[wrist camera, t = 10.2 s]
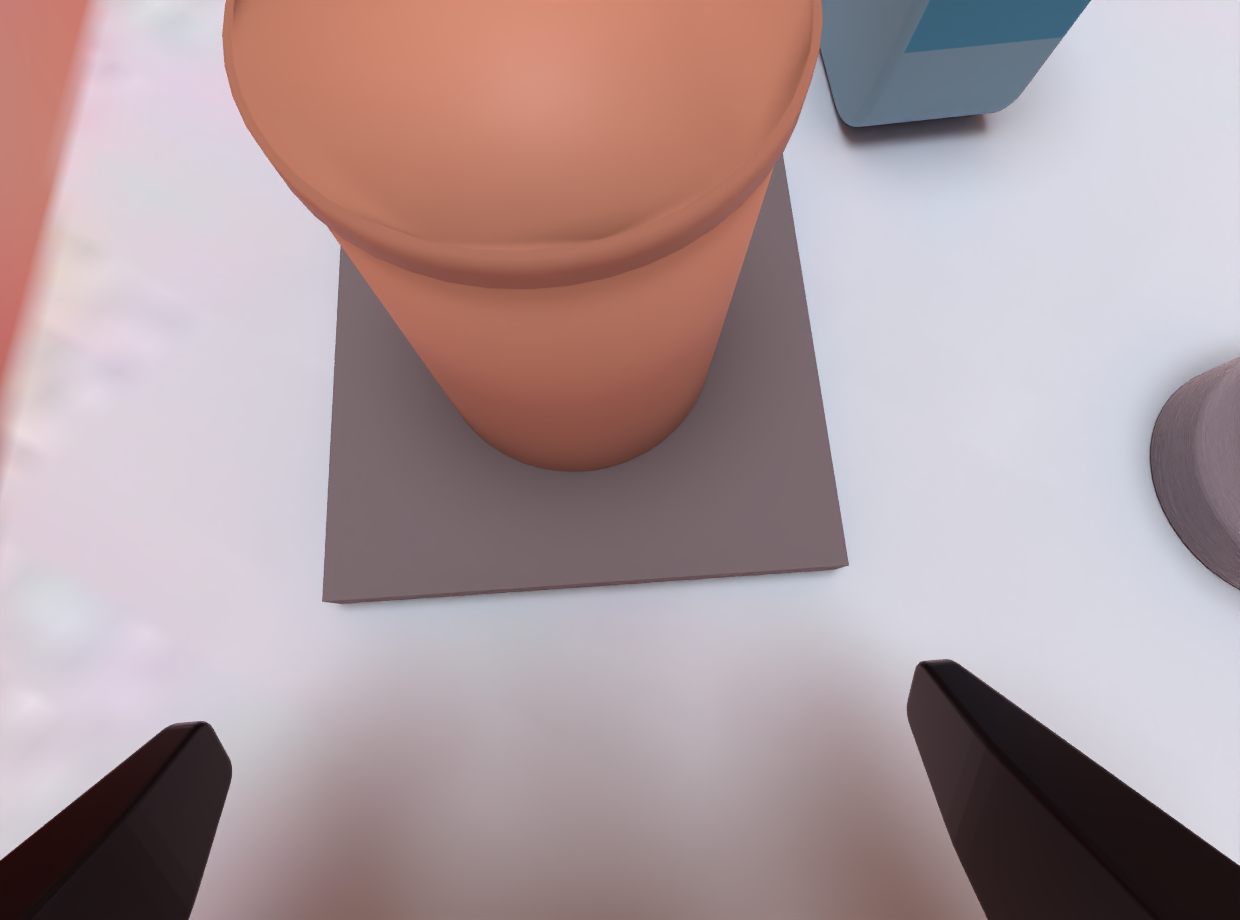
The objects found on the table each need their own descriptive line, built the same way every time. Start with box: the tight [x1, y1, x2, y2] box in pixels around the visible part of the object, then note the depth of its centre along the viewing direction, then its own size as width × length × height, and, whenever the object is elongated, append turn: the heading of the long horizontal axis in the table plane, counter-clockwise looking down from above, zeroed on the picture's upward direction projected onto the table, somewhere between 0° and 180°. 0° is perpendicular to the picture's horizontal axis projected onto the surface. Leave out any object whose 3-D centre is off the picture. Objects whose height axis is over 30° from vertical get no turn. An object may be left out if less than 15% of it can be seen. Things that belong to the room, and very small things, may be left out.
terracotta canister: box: [222, 0, 823, 471], centre depth 12 cm, size 7×7×9 cm
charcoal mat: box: [322, 153, 849, 604], centre depth 17 cm, size 12×12×1 cm
